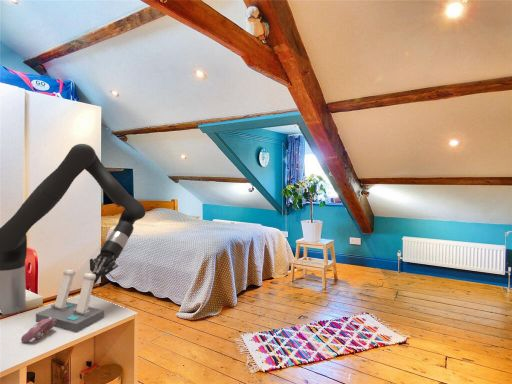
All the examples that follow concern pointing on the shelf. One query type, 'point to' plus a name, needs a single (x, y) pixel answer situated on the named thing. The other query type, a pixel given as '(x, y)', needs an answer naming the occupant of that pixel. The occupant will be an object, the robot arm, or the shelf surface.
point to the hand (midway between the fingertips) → (91, 283)
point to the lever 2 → (85, 293)
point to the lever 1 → (64, 288)
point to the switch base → (71, 316)
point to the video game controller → (39, 329)
